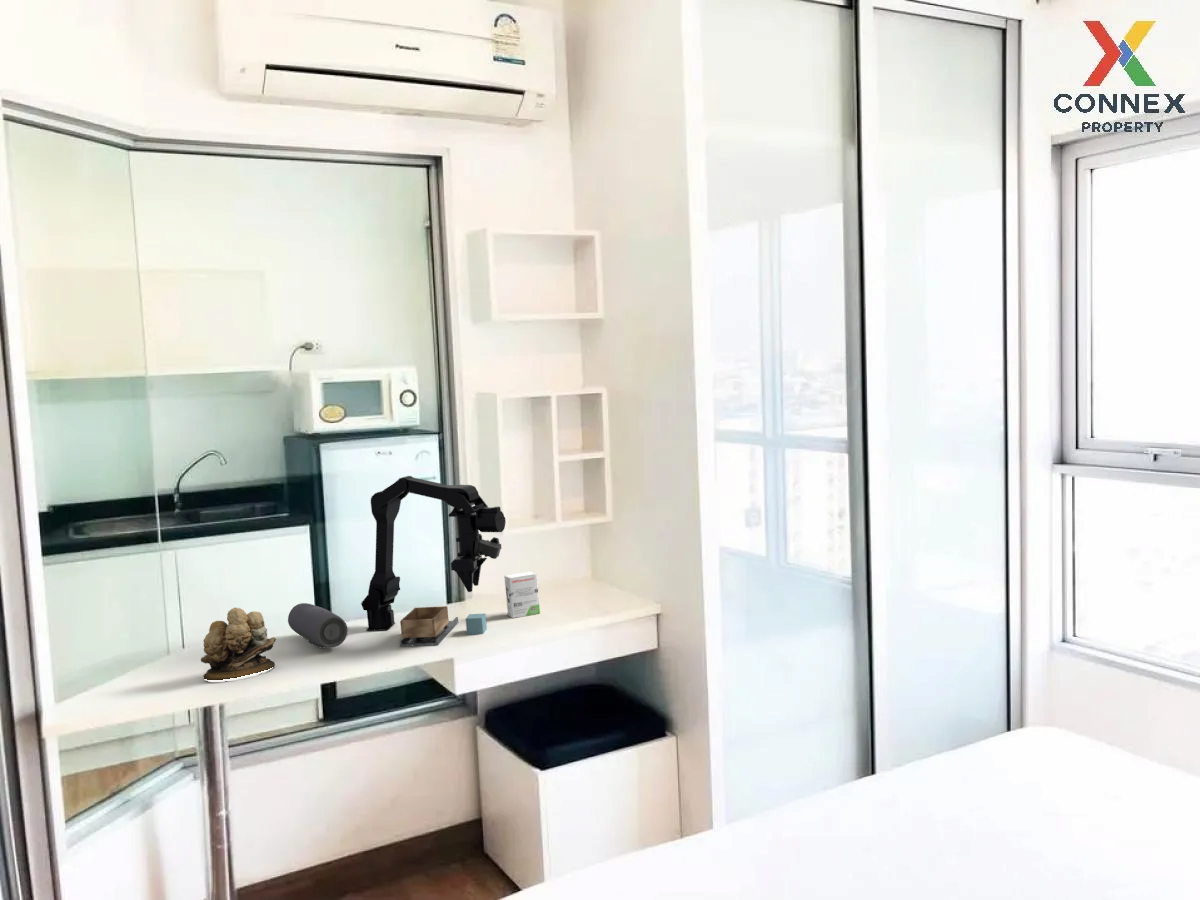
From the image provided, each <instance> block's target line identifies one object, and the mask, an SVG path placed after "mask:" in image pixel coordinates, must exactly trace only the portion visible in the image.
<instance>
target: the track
mask: <svg viewBox="0 0 1200 900" xmlns="http://www.w3.org/2000/svg"><path fill="white" fill-rule="evenodd" d="M458 624H459V617H458V616H456V617H454V619H452V620H449V623H448V624H447V627H446V628H445V629H442V630H441V631H440V632H439V633H438V635H437V638H436V639H434V640H432V637H413V638H410V639H409V641H404V638H402V637H401V638H400V639H399V647H421V646H422V647H423V646H426V647H427V646H438V645H440V643H442V642H443V640H444V639H445V638H446V637H447V636H448V635H449V634H450V632H452V630H453V629H454V628H455V627H456V626H457V625H458ZM412 645H413V646H412Z"/></svg>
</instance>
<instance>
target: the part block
mask: <svg viewBox="0 0 1200 900" xmlns="http://www.w3.org/2000/svg"><path fill="white" fill-rule="evenodd" d="M486 616H487V615H486V613H469V614H468V616H466V618H465V626H466V628H465V629H466V635H483V634H484V633H485V632H486V631H487V630H488V628H487V627H488V626H487V617H486Z"/></svg>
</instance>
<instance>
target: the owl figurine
mask: <svg viewBox="0 0 1200 900" xmlns="http://www.w3.org/2000/svg"><path fill="white" fill-rule="evenodd" d="M226 615H227V617H226V620H227V622H228V623H227V622H225V621H223V620H215V621H213V622H211V624H210V626H209V629H208V633H207V634H206V635H205V637H204V638H203V652H204V653H205V655H204V656H202V657H201V658H200V662H201V663H203V664H209V667H210V668H209V669H208V670H206V673H204V675H203V677H204V678H203V680H204V679H207V680H223V679H230V678H237V677H241V676H245V675H250V674H253V673H258V672H261V671H264V670H268V669H270V668H272V667H274V666H276V663H275V662H274V661H273V660H272V659H270V658H267V656H266V655H261V654H263V653H266V652H268V651H271V650H272V649H273V648H274V644H275V643H276V641H277V638H276V637H275V636H274V637H270V638H268V628H266V626H265V625H266V624H265V620H264V616H263V614H262V613H261V612H259V611H254V610H253V611H250V612H248V613H247V612H245V610H244V609H242V608H240V607H232V608H231V609H230V610H228V612H227V614H226ZM274 668H275V667H274Z"/></svg>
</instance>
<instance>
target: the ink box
mask: <svg viewBox="0 0 1200 900" xmlns="http://www.w3.org/2000/svg"><path fill="white" fill-rule="evenodd" d="M504 585H505V586H504V587H505V597H506V598H505V599H506V606H507V607H506V609H507V615H508V616H509V617H510V618H512V619H517V618H521V617H522V616H523V617H527V616H533V615H538V614H541V610H540V609H541V606H540V596H539V594H540V593H539V587H538V585H539V584H538V573H535V572H534V571H525V572H520V573H513V574H508V575H504ZM516 617H517V618H516Z"/></svg>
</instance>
